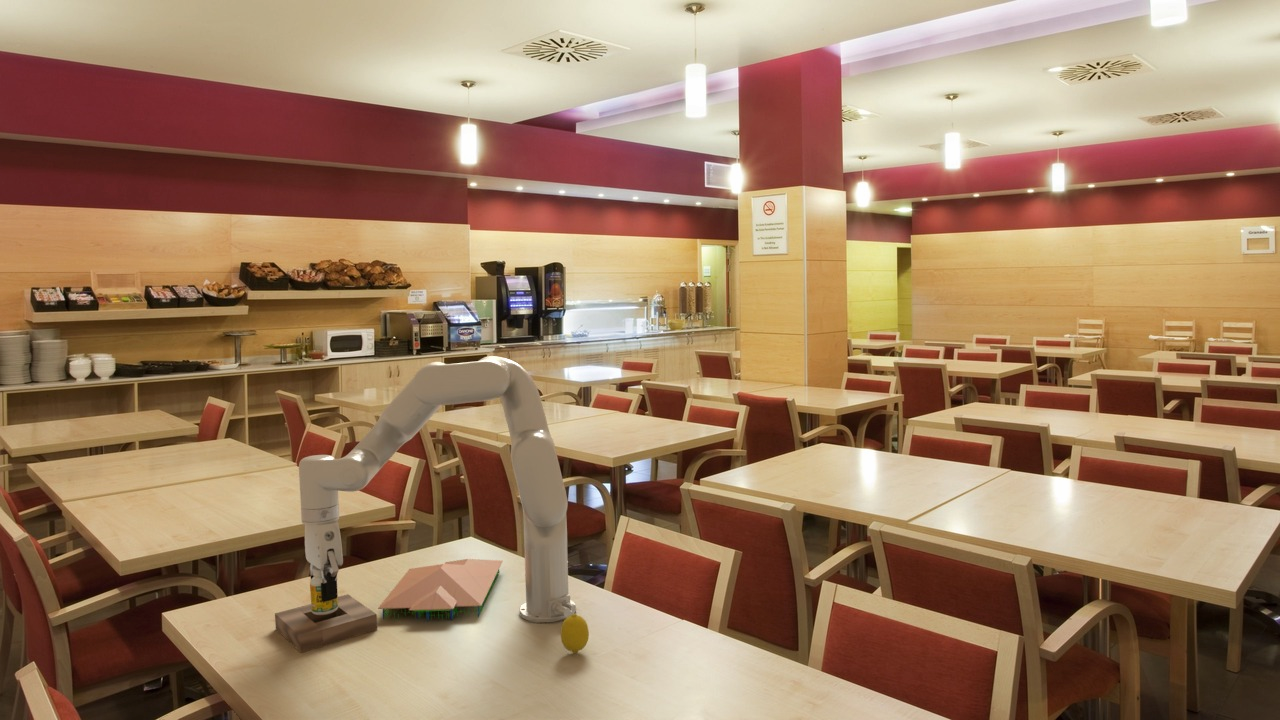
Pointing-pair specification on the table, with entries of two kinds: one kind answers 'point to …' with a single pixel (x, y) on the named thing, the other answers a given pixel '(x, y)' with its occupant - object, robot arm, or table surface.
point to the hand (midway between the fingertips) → (324, 595)
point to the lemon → (574, 633)
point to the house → (444, 587)
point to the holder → (325, 624)
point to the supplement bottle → (316, 599)
